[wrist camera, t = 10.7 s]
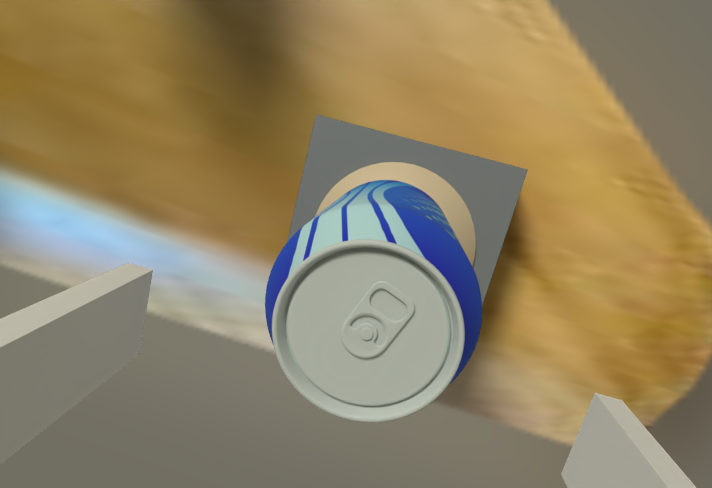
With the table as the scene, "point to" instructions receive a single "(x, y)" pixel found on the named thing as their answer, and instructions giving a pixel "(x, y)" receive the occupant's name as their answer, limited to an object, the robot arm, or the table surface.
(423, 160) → the riser
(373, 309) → the beer can
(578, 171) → the table surface
